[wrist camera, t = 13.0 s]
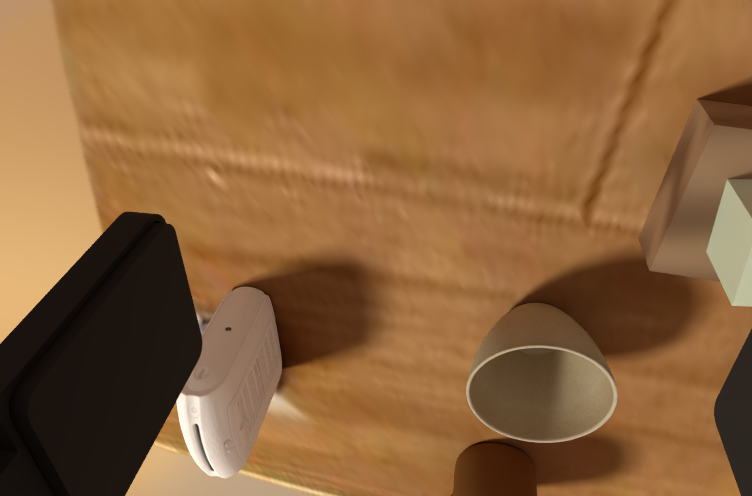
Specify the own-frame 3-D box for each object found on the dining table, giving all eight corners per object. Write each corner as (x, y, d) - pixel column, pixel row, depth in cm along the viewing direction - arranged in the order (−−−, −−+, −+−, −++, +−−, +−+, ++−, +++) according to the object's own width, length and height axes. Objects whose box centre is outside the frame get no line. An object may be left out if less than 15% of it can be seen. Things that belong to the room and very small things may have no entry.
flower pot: (494, 261, 44) (494, 328, 38) (626, 298, 44) (645, 371, 38) (454, 351, 50) (448, 421, 44) (569, 384, 50) (579, 458, 44)
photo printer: (222, 282, 49) (154, 399, 39) (272, 286, 49) (215, 406, 39) (243, 368, 55) (188, 489, 46) (288, 373, 55) (242, 496, 45)
